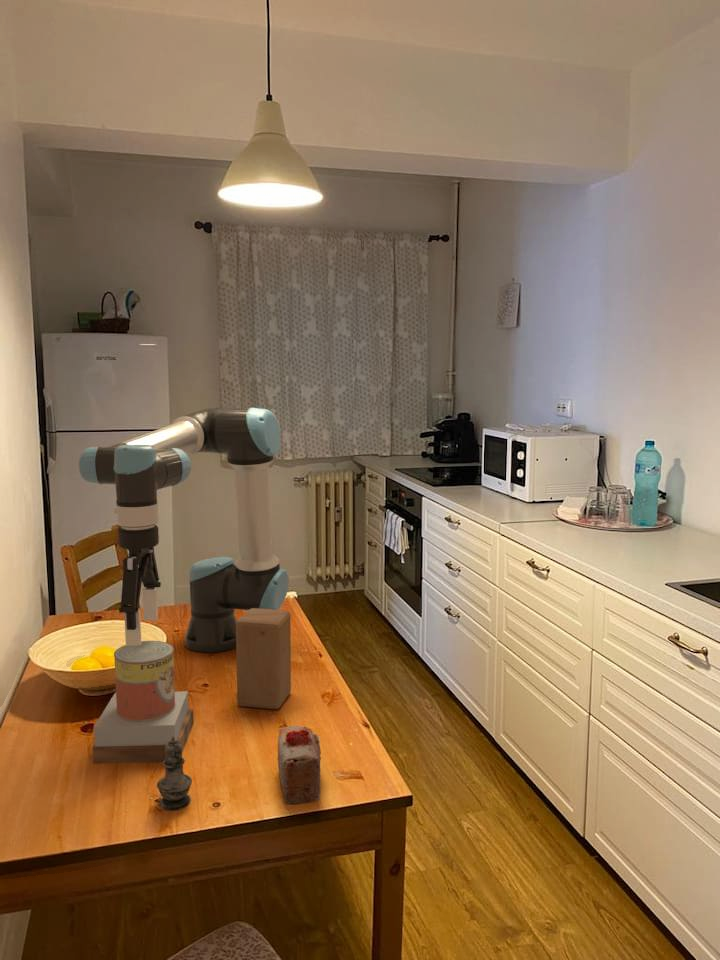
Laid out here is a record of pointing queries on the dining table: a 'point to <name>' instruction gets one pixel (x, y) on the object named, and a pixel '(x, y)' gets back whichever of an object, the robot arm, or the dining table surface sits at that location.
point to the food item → (299, 764)
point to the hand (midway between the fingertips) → (142, 631)
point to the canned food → (144, 681)
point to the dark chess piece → (174, 779)
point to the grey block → (140, 726)
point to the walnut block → (141, 748)
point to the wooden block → (263, 658)
